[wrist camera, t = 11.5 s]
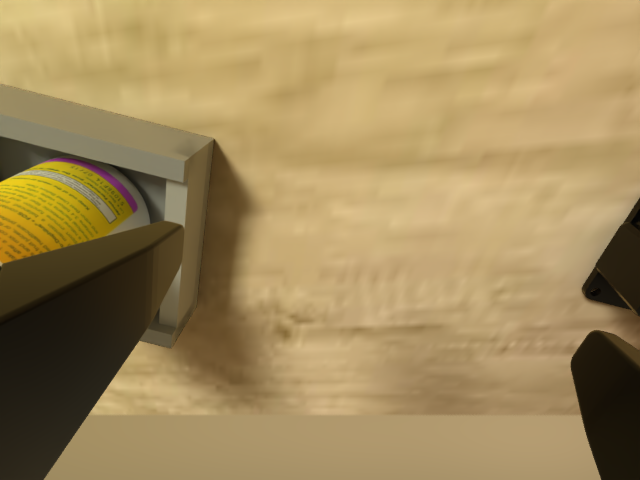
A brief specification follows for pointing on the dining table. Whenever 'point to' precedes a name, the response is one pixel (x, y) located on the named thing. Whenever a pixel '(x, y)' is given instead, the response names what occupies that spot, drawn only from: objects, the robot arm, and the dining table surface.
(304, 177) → the dining table surface
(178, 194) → the tray
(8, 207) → the supplement bottle
